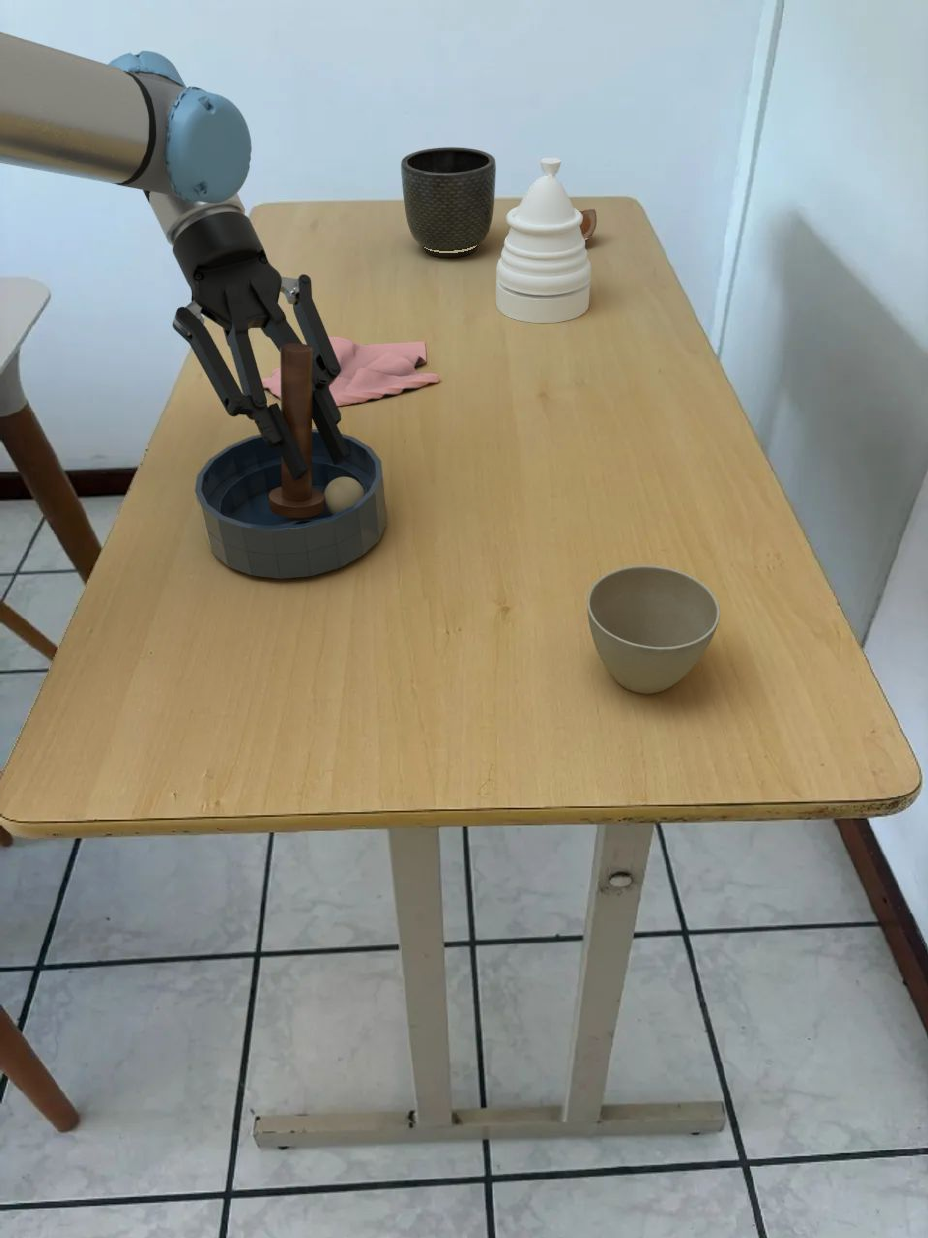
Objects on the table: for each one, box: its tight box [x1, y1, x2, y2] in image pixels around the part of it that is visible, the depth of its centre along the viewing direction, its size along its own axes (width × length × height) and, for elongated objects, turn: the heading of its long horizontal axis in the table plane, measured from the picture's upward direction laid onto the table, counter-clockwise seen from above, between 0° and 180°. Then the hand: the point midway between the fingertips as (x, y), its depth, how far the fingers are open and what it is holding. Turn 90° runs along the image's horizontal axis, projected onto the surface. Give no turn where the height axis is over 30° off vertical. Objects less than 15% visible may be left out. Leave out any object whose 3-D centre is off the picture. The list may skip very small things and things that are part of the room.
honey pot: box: [495, 157, 592, 324], centre depth 127 cm, size 13×13×18 cm
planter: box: [400, 146, 497, 259], centre depth 144 cm, size 14×14×13 cm
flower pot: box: [586, 564, 721, 695], centre depth 75 cm, size 10×10×7 cm
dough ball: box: [324, 477, 365, 515], centre depth 92 cm, size 4×4×4 cm
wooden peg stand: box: [269, 343, 324, 518], centre depth 87 cm, size 5×5×15 cm
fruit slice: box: [579, 208, 598, 239], centre depth 148 cm, size 8×7×5 cm
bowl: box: [194, 428, 388, 580], centre depth 91 cm, size 17×17×6 cm
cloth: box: [261, 336, 440, 407], centre depth 117 cm, size 20×22×2 cm
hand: (322, 467), depth 87 cm, fingers closed on wooden peg stand, 4 cm apart
